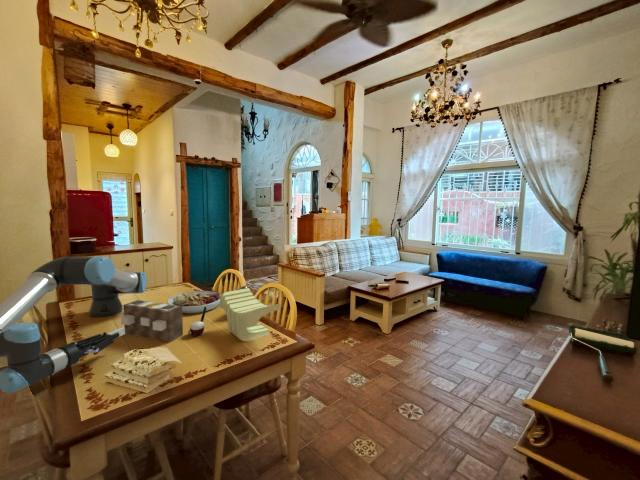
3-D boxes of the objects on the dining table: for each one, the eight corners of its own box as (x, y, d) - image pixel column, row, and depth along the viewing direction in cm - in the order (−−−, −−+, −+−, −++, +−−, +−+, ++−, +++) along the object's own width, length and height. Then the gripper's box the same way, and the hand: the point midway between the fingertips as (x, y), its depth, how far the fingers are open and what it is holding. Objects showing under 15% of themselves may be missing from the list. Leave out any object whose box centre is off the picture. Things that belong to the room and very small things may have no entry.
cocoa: (189, 339, 137) (187, 315, 135) (186, 334, 142) (184, 310, 140) (210, 334, 142) (209, 310, 140) (207, 328, 147) (205, 306, 145)
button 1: (121, 323, 136) (120, 316, 136) (127, 321, 139) (127, 314, 139) (128, 325, 135) (128, 318, 134) (134, 322, 138) (134, 315, 137)
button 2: (152, 329, 131) (152, 322, 131) (158, 326, 134) (158, 319, 134) (160, 331, 130) (160, 323, 129) (166, 328, 133) (166, 320, 132)
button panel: (124, 333, 140) (123, 303, 138) (139, 327, 148) (138, 298, 146) (170, 342, 133) (168, 310, 131) (182, 334, 141) (182, 305, 139)
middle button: (140, 324, 135) (140, 317, 135) (146, 322, 139) (146, 315, 138) (148, 326, 134) (148, 319, 134) (154, 323, 137) (153, 316, 137)
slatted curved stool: (220, 327, 150) (219, 293, 148) (248, 320, 160) (248, 287, 158) (248, 350, 128) (248, 310, 125) (279, 340, 138) (279, 303, 136)
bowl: (161, 317, 161) (160, 303, 160) (174, 299, 190) (174, 287, 189) (219, 314, 168) (219, 300, 167) (223, 297, 197) (223, 285, 196)
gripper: (48, 365, 104) (112, 336, 127) (75, 372, 101) (136, 341, 123) (46, 344, 104) (111, 320, 126) (74, 351, 100) (135, 324, 122)
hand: (123, 330), depth 125 cm, fingers closed
